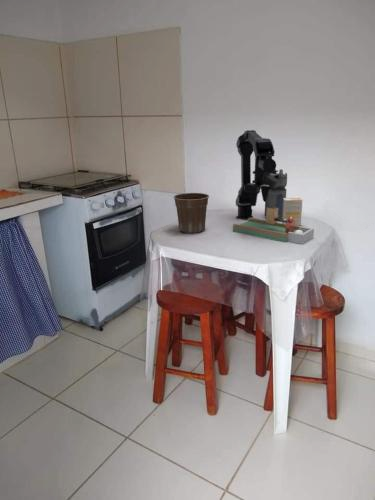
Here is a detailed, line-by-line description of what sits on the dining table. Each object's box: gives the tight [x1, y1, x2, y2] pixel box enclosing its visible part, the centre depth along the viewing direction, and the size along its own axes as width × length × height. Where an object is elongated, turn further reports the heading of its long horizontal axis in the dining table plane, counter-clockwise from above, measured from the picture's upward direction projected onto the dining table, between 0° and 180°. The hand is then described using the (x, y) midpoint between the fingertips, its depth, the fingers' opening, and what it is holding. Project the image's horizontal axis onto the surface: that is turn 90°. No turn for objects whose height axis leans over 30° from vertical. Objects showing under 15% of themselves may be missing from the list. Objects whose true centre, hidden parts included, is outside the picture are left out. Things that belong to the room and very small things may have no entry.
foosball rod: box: [265, 206, 296, 233], centre depth 171 cm, size 12×5×9 cm, turn 50°
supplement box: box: [281, 197, 303, 227], centre depth 185 cm, size 8×5×13 cm, turn 84°
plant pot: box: [173, 192, 210, 234], centre depth 182 cm, size 16×16×16 cm
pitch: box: [232, 217, 315, 245], centre depth 175 cm, size 33×14×4 cm, turn 50°
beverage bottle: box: [264, 168, 288, 218], centre depth 198 cm, size 10×13×25 cm
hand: (259, 203), depth 178 cm, fingers open, 9 cm apart
